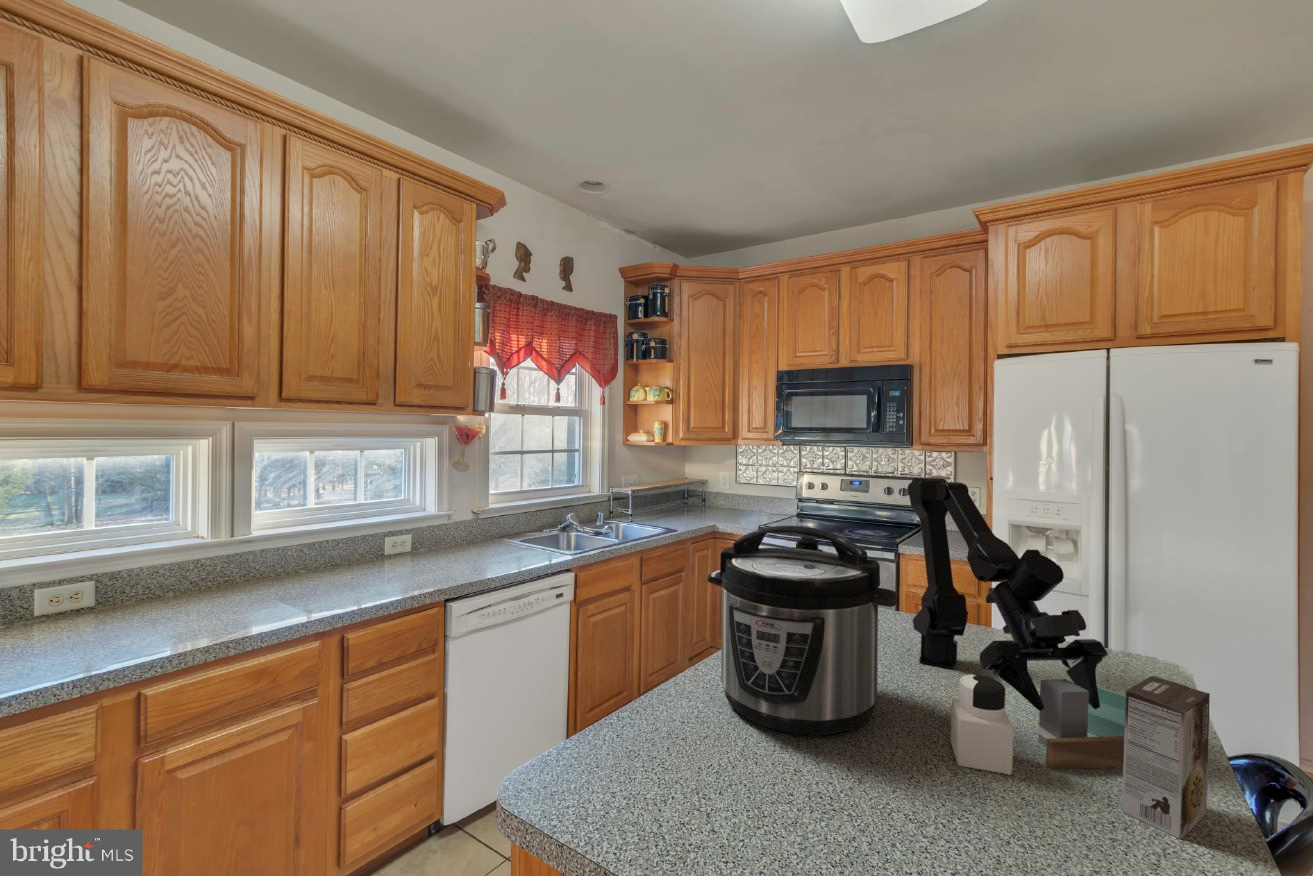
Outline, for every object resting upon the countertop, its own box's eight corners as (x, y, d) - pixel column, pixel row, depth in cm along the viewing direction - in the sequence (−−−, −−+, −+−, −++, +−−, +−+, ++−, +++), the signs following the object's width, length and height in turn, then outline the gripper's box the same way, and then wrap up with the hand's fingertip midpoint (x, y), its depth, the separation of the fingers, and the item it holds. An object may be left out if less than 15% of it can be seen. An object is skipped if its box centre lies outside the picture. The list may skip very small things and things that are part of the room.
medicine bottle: (1001, 751, 92) (1003, 674, 91) (1012, 776, 85) (1015, 693, 85) (950, 742, 94) (952, 667, 94) (957, 766, 87) (959, 685, 87)
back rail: (1046, 765, 88) (1046, 738, 88) (1120, 762, 89) (1121, 736, 89) (1051, 769, 87) (1052, 742, 87) (1126, 766, 88) (1127, 739, 88)
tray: (1041, 714, 104) (1042, 696, 104) (1075, 695, 111) (1075, 679, 111) (1137, 750, 93) (1138, 730, 92) (1167, 726, 100) (1167, 708, 100)
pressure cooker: (681, 686, 112) (685, 519, 112) (794, 660, 126) (798, 511, 125) (790, 767, 86) (796, 549, 85) (918, 722, 100) (923, 535, 99)
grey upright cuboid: (1038, 741, 95) (1039, 679, 94) (1064, 741, 95) (1066, 679, 95) (1059, 757, 90) (1061, 692, 90) (1087, 756, 90) (1089, 691, 90)
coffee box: (1146, 789, 82) (1150, 674, 82) (1208, 816, 77) (1212, 692, 77) (1118, 811, 77) (1123, 688, 77) (1182, 841, 72) (1187, 709, 72)
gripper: (992, 591, 95) (1041, 689, 84) (1100, 590, 97) (1161, 687, 86) (961, 624, 103) (1002, 717, 92) (1061, 622, 105) (1113, 714, 94)
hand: (1069, 708), depth 91 cm, fingers open, 9 cm apart
